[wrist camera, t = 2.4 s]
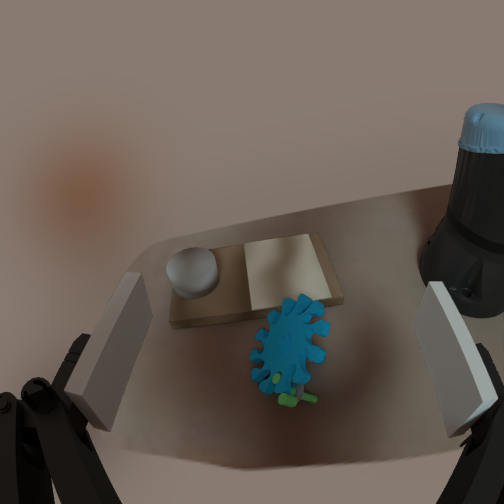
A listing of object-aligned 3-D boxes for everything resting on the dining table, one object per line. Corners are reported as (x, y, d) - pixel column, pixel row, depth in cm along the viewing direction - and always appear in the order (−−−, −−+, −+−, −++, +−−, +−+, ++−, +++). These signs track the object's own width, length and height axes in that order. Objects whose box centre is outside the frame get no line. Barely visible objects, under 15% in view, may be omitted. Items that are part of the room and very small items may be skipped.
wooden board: (318, 241, 46) (318, 215, 43) (342, 304, 36) (346, 276, 34) (179, 262, 46) (171, 237, 43) (173, 329, 36) (161, 304, 34)
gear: (251, 312, 35) (318, 273, 29) (290, 331, 37) (358, 299, 31) (237, 410, 28) (316, 393, 21) (283, 422, 30) (363, 406, 24)
